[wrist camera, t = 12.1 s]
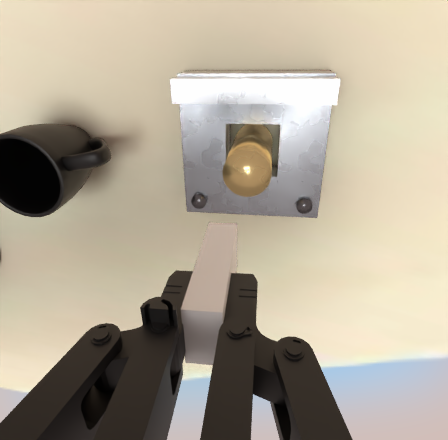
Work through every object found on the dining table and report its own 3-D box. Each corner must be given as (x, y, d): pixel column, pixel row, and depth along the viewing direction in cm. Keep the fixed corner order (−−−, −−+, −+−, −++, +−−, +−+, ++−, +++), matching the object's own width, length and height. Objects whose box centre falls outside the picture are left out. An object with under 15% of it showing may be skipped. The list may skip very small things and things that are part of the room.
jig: (193, 198, 41) (181, 222, 35) (186, 70, 34) (169, 76, 29) (313, 203, 39) (319, 229, 34) (330, 70, 32) (340, 76, 27)
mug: (147, 171, 40) (114, 206, 32) (59, 186, 42) (6, 222, 34) (123, 99, 36) (78, 116, 28) (28, 120, 39) (-39, 142, 31)
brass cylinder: (235, 159, 38) (222, 195, 29) (235, 122, 36) (222, 149, 27) (271, 160, 37) (270, 197, 28) (273, 123, 35) (272, 150, 27)
